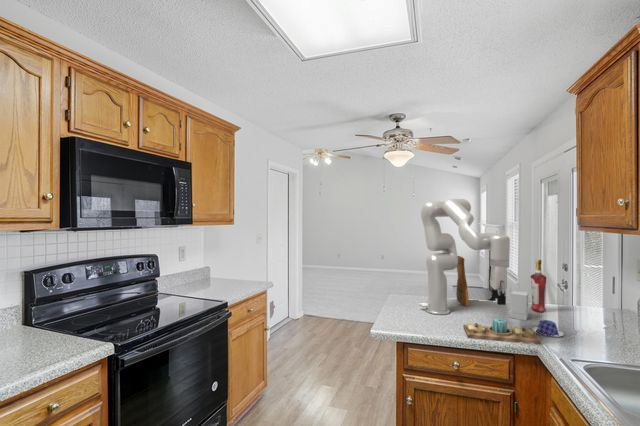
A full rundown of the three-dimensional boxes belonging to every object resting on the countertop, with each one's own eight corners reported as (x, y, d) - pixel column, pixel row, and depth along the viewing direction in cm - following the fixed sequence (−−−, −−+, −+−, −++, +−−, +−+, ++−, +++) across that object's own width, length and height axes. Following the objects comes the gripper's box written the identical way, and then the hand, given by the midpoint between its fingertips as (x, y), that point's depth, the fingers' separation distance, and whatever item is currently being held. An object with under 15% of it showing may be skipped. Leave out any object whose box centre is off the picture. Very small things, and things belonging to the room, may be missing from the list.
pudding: (570, 336, 150) (570, 324, 150) (549, 339, 147) (549, 327, 147) (545, 327, 162) (545, 316, 162) (525, 330, 158) (525, 318, 158)
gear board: (467, 338, 148) (467, 327, 148) (463, 327, 161) (463, 318, 161) (540, 344, 141) (540, 333, 141) (530, 333, 154) (530, 323, 154)
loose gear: (494, 333, 149) (494, 321, 149) (491, 328, 154) (491, 317, 154) (508, 334, 148) (508, 322, 148) (504, 330, 153) (504, 318, 153)
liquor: (527, 309, 190) (527, 258, 189) (541, 309, 189) (541, 258, 189) (535, 313, 182) (535, 260, 182) (549, 313, 182) (549, 260, 182)
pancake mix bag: (458, 306, 195) (458, 257, 195) (452, 298, 214) (452, 253, 213) (470, 307, 194) (471, 258, 193) (464, 298, 212) (464, 253, 212)
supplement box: (526, 320, 171) (527, 295, 170) (510, 317, 175) (510, 293, 175) (528, 316, 177) (528, 292, 176) (512, 314, 181) (512, 290, 181)
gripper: (486, 259, 160) (485, 295, 161) (494, 266, 143) (493, 306, 144) (503, 260, 158) (502, 296, 159) (514, 267, 141) (513, 308, 142)
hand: (498, 301), depth 151 cm, fingers open, 9 cm apart
